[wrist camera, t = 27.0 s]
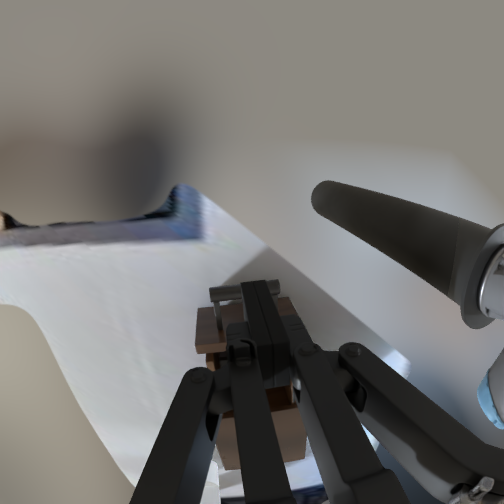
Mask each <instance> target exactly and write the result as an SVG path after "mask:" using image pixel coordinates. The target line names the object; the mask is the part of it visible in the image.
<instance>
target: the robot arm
mask: <svg viewBox="0 0 504 504" xmlns="http://www.w3.org/2000/svg"><path fill="white" fill-rule="evenodd" d="M240 284H241V294H242V303H243V312H244V322H236V323H229V324H228V326H227V328H226V339H227V345H226V354H227V360H228V361H227V363H226V364H225V366H223V367H222V368H220V369H218V370H215V371H211V370H210V369H208V368H204V367H196V368H193V369H190V370H189V371H187V372H186V373H185V375H184V376H183V379H182V381H181V383H180V385H179V388H178V390H177V392H176V395H175V397H174V399H173V402H172V404H171V406H170V408H169V411H168V413H167V415H166V418H165V420H164V422H163V425H162V427H161V429H160V432H159V434H158V436H157V439H156V441H155V443H154V446H153V448H152V450H151V453H150V455H149V458H148V460H147V462H146V465H145V467H144V469H143V472H142V474H141V477H140V479H139V481H138V484H137V486H136V489H135V491H134V493H133V496H132V498H131V501H130V503H129V504H200V502H201V498H202V494H203V490H204V487H205V483H206V479H207V475H208V471H209V467H210V463H211V459H212V455H213V451H214V448H215V444H216V440H217V436H218V432H219V428H220V424H221V420H222V413H224V412H227V411H230V410H232V409H233V413H234V421H235V429H236V437H237V445H238V453H239V460H240V467H241V474H242V481H243V488H244V495H245V502H246V504H297V503H296V500H295V498H294V497H293V495H292V492H291V488H290V485H289V481H288V477H287V473H286V469H285V466H284V462H283V458H282V454H281V450H280V446H279V443H278V439H277V435H276V431H275V427H274V423H273V419H272V415H271V411H270V407H269V403H268V399H267V395H266V391H265V389H269V388H274V386H275V387H281V386H287V385H290V378H291V381H292V384H293V402H295V400H296V403H297V406H298V409H299V412H300V415H301V418H302V421H303V424H304V427H305V430H306V433H307V436H308V439H309V442H310V445H311V448H312V451H313V454H314V457H315V460H316V463H317V466H318V469H319V472H320V475H321V478H322V481H323V484H324V487H325V490H326V493H327V496H328V499H329V501H330V504H411V503H410V501H409V500H408V498H407V496H406V494H405V492H404V490H403V488H402V486H401V484H400V482H399V480H398V478H397V477H396V475H395V473H394V472H393V471H392V470H390V469H385V468H384V467H383V466H382V464H381V462H380V460H379V458H378V457H377V454H376V453H375V451H374V449H373V447H372V445H371V443H370V441H369V439H368V437H367V435H366V433H365V431H364V429H363V427H362V425H361V423H362V424H363V425H364V427H365V428H366V429H367V430H368V431H369V432H370V433H371V434H372V435H373V436H374V437H375V438H376V439H377V440H378V441H379V442H380V443H381V445H382V446H383V447H384V448H385V449H386V450H387V451H388V452H389V453H390V454H391V455H392V456H393V457H394V458H395V459H396V460H397V461H398V462H399V463H400V464H401V465H402V466H403V467H404V468H405V469H406V470H407V471H408V472H409V473H410V474H411V475H412V476H413V477H414V478H415V479H416V480H417V481H418V482H419V483H420V484H421V485H422V486H423V487H424V488H425V489H426V490H427V491H428V492H429V493H430V494H431V495H433V496H434V497H435V498H437V499H438V500H440V501H442V502H443V503H446V504H504V449H500V448H497V447H494V446H491V445H488V444H485V443H484V442H483V441H481V440H480V439H479V438H478V437H476V436H475V435H474V434H473V433H471V432H470V431H469V430H468V429H466V428H465V427H464V426H463V425H462V424H460V423H459V422H457V420H455V419H454V418H453V417H451V416H450V415H449V414H448V413H447V412H445V411H444V410H443V409H441V408H440V407H439V406H438V405H437V404H435V403H434V402H433V401H432V400H430V399H429V398H428V397H427V396H426V395H424V394H423V393H422V392H421V391H419V390H418V389H417V388H416V387H414V386H413V385H412V384H411V383H409V382H408V381H407V380H406V379H404V378H403V377H402V376H401V375H400V374H398V373H397V372H396V371H395V370H393V369H392V368H391V367H390V366H388V365H387V364H386V363H385V362H383V361H382V360H381V359H380V358H379V357H377V356H376V355H375V354H374V353H372V352H371V351H370V350H369V349H367V348H366V347H365V346H363V345H362V344H360V343H355V342H349V343H346V344H344V345H342V346H341V347H340V348H339V351H324V350H322V349H321V347H320V346H319V345H317V344H315V343H313V342H312V340H311V338H310V336H309V334H308V332H307V330H306V329H305V326H304V324H303V322H302V320H301V318H300V317H298V316H297V315H295V314H289V315H282V316H280V315H279V313H278V310H277V308H276V305H275V303H274V300H273V298H272V296H271V293H270V291H269V288H268V286H267V283H266V281H265V280H259V281H251V282H243V283H240ZM476 304H477V308H478V310H479V311H480V312H481V313H483V314H484V315H485V316H487V317H491V318H495V319H500V320H504V244H503V245H501V246H499V247H498V248H497V249H496V250H495V251H494V252H493V254H492V255H491V257H490V258H489V260H488V261H487V263H486V265H485V267H484V269H483V272H482V274H481V277H480V280H479V284H478V288H477V294H476ZM477 394H478V395H477V396H478V400H479V403H480V406H481V408H482V409H483V411H484V413H485V414H486V416H487V417H488V418H489V420H490V421H493V423H494V425H495V426H496V427H498V428H500V429H504V349H503V350H502V352H501V353H500V355H499V356H498V358H497V359H496V361H495V362H494V364H493V365H492V366H491V368H490V369H488V371H487V374H486V376H485V377H484V379H483V380H482V381H481V383H480V385H479V387H478V391H477ZM360 422H361V423H360Z"/></svg>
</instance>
